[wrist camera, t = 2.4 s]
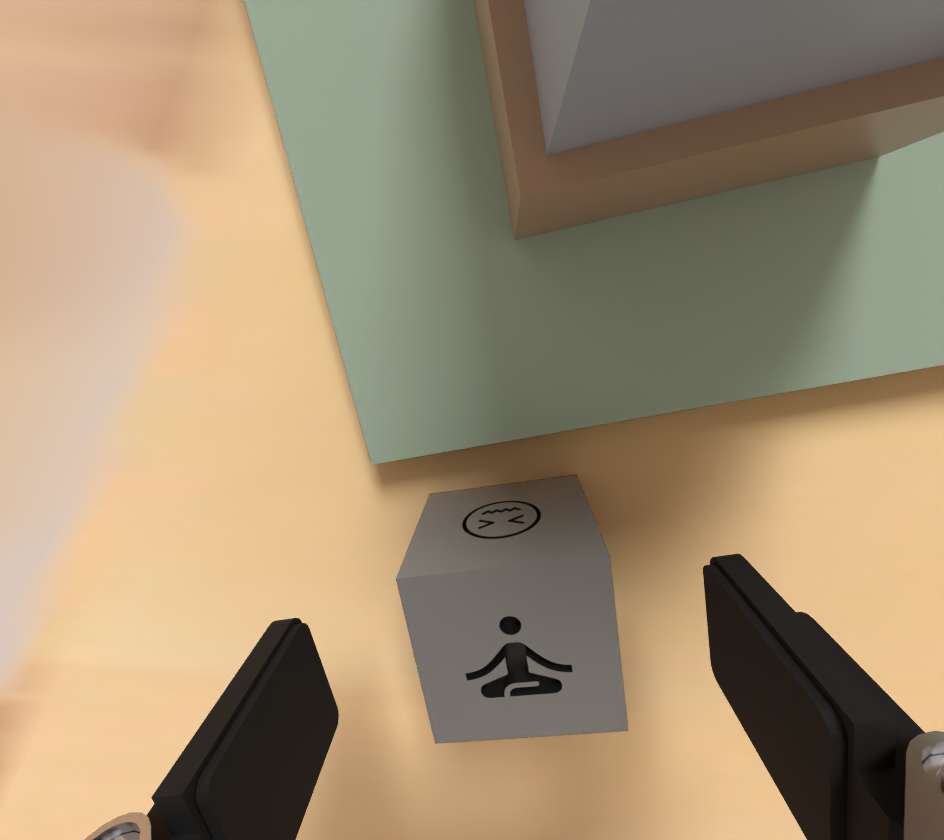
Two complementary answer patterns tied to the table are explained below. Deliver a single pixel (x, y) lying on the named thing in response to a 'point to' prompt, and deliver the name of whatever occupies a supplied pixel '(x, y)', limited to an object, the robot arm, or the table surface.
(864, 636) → the table surface
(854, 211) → the stepped block pyramid
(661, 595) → the table surface
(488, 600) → the dice cube
